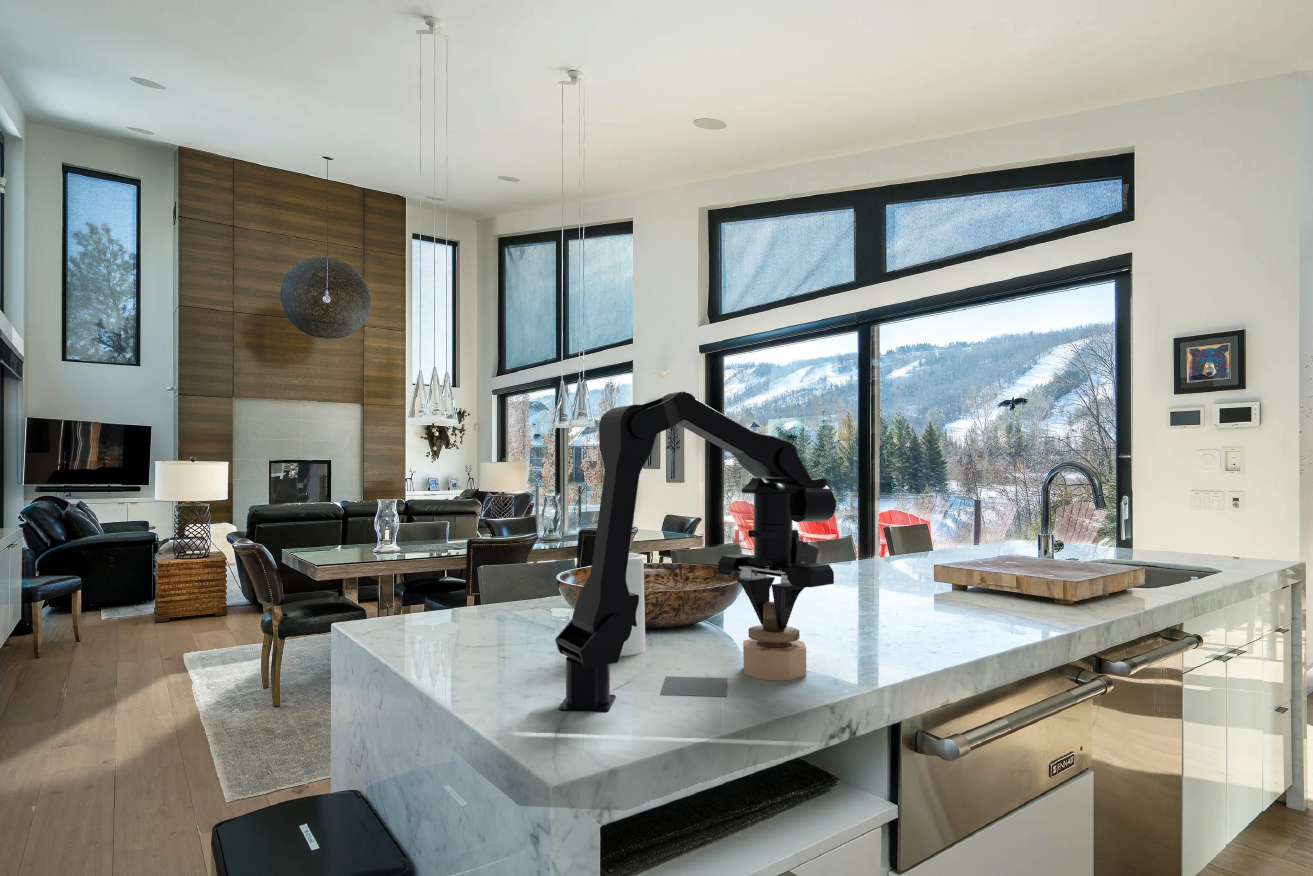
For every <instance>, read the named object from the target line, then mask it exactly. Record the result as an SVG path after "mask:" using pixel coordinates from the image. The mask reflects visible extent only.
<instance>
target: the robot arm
mask: <svg viewBox="0 0 1313 876" xmlns="http://www.w3.org/2000/svg"><path fill="white" fill-rule="evenodd" d="M676 425H679V426H680V427H682V428H684V429H686V430H688V431H690V432H692V433H693V434H695V435H696V436H698V437H701V438H702V439H704V440H707V441H708V442H710V443H711V444H713V445H715V446H716V447H719V448H720V449H721V450H725V451H726V452H728V453H729V454H731V455H732V456H733V457H735V458H736V461H737V462H738V463H739V465H740V466H741V467H742V468H744V469H745V470H746V471H747V472H748V473H749V474H750V475H752V476H754V477H752V478H751V479H750V481H749V482H748V483H747V484H746V485H744V486H743V488H741V493H743V494H749V495H750V494H753V529H748V537H749V538H753V539H754V540H753V549H754V550H753V554H745V553H738V554H737V553H736V554H728V555H722V556H721V557H720V559H719V560H718V565H717V566H718V567H717V568H718V569H717V570H718V572H717V573H718V575H723V576H725V575H726V576H733V575H734V573H737V572H739V578H737V577H736V583H739V584H740V585H741V587H742V589H743V590H744V592H745V594H746V596H747V598H748V599H749V601H750V604H751V606H752V607H753V610H754V612H755V614H756V616H757V618H758V620H759V622H760V625H763V603H764V602H770V593H771V592H770V590H771V591H772V597H773V602H774V604H775V611H776V617H777V622H778V626H779V629H781V630H782V629H785V628H786V626H788V623H789V620H790V617H791V614H792V612H793V608H794V606H795V603H796V601H797V599H798V597H799V595H800V594H801V593H802V592H803V591H804V589H805V588H816V587H823V586H828V585H834V584H835V571H834V570H833V568H832V566H831V565H830V564H826V563H819V562H818V561H817V560H818V557H819V553H820V549H819V548H818V547H816V546H813V545H811V544H809V543H807V542H804V541H802V540H800V533H799V532H798V531H799V530H798V529H793V522H794V523H809V522H825V521H829V520H830V519H832V517H833V516H835V515H834V514H835V512H836V509H837V500H836V499H835V495H834V493H833V491H832V490H831V488H829V486H828V485H827V479H826V478H825V477H823V478H818V477H814V478H812V477H811V475H810V474H809V472H808V470H807V469H806V466H805V465H804V464H803V462H802V460H801V458H800V457H799V455H798V452H797V451H798V449H797V447H796V445H795V444H793V442H791V441H789V440H786V439H784V438H780V437H777V436H774V435H769V434H765V433H760V432H757V431H754V430H751V429H749V428H748V427H746V426H745V425H742V424H741V423H739V422H737V421H735V420H734V419H732V418H730V417H729V416H727V415H725V414H723V413H721V412H720V411H718V410H716V409H714V408H712V407H711V406H710V405H708V404H706V403H704V402H702V401H701V400H699V399H697V398H696V397H695V395H693V394H692V393H690V392H687V391H677V392H673V393H671V392H670V393H667V394H665V395H664V396H662V397H660V398H657V399H655V400H652V401H649V402H646V403H643V404H631V405H624V406H617V407H612V408H610V409H609V410H608V411H606V412H605V413H604V414H603V415H602V416H601V418H600V420H599V426H598V431H599V432H598V435H599V438H598V439H599V443H598V447H599V452H600V455H601V459H602V462H603V463H602V464H603V467H604V476H603V484H602V490H601V496H600V497H601V498H600V505H599V511H598V519H597V526H596V533H595V541H594V546H593V547H594V549H593V553H592V563H591V567H590V568H591V570H590V573H589V576H588V577H587V579H586V581H585V582H584V585H583V586H582V588H581V590H580V591H579V594H578V597H577V600H576V603H575V607H574V610H573V612H572V613H573V614H572V619H571V620H570V621H569V622H568V623H567V625H566V626H564V628H563V629H562V631H560V633H559V634H557V636H556V637H555V640H554V641H555V644H556V647H557V650H558V653H559V654H561V655H564V656H565V657H566V658H565V698H564V699H563V700H562V702H561V704H560V705H559V706H558V708H557V709H558V711H560V712H584V713H608V712H610V710H611V708H612V707H613V704H614V703H615V700H616V698H617V697H616V696H617V695H615V694H610V692H611V690H610V689H611V686H610V685H611V678H610V676H611V666H610V665H612V664H617V663H618V662H619V660H620V658H621V656H620V654H621V651H622V647H623V644H624V642H625V641H627V640H628V639H629V637H630V634H631V631H632V626H634V627H636V626H637V623H636V611H637V607H638V603H639V595H637V594H634V593H631V592H629V590H628V586H627V583H626V572H627V565H628V557H629V553H630V548H631V542H632V541H631V540H632V533H633V526H634V520H635V519H634V518H635V512H636V511H635V510H636V503H637V496H638V488H639V482H640V481H639V479H640V474H641V471H642V470H643V468H644V466H645V465H646V463H647V462H648V459H650V456H651V454H652V452H653V449H654V447H655V442H656V440H657V439H656V438H657V435H658V434H659V433H661V432H665V431H667V430H669V429H671V428H673V427H675V426H676ZM763 479H764V480H765V481H766V482H765V481H764V480H763ZM783 485H784V486H783ZM776 577H778V578H779V577H780V583H774V581H775V580H776Z"/></svg>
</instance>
